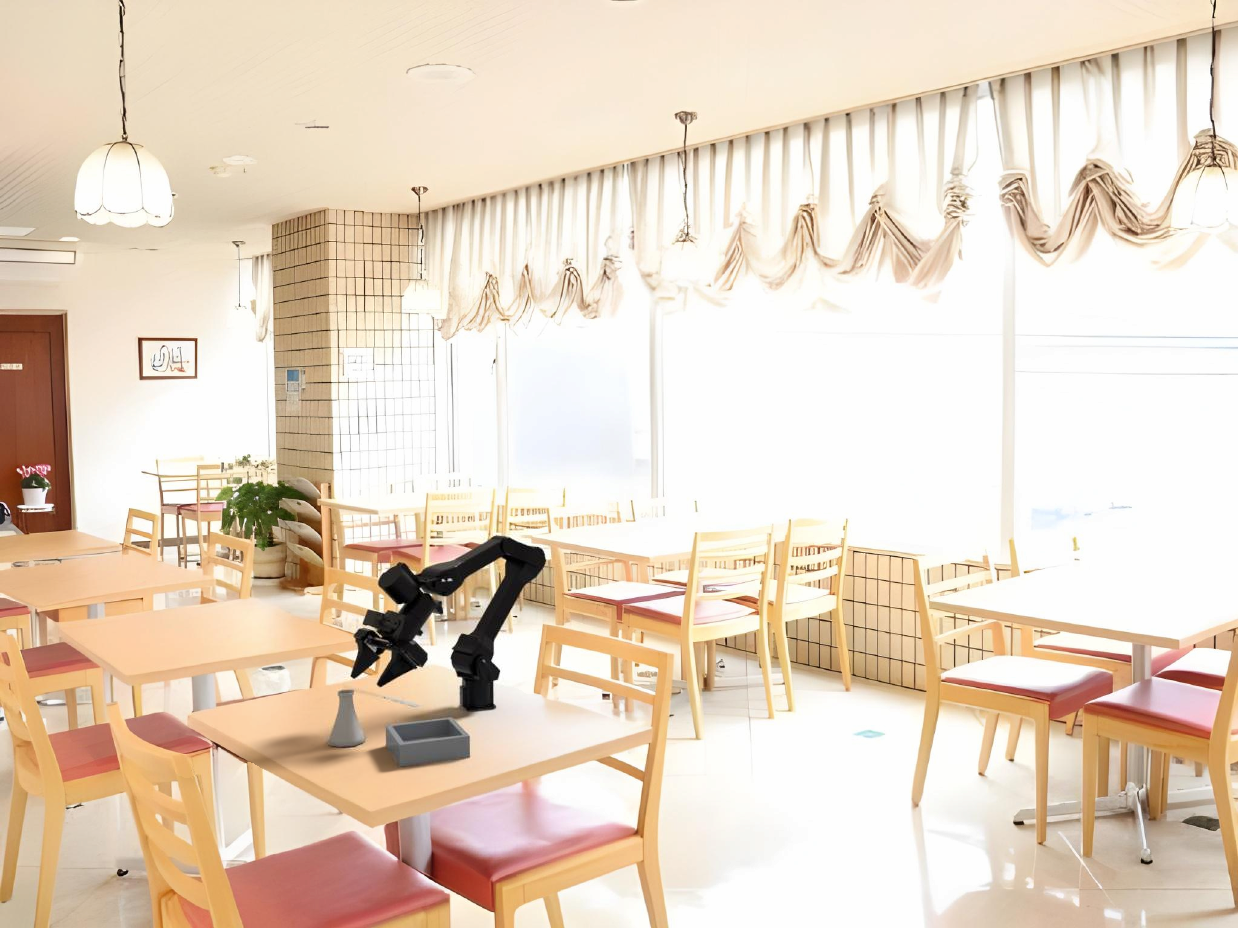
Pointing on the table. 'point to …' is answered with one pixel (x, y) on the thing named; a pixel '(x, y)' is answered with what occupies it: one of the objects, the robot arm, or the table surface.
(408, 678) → the table surface
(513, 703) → the table surface
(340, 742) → the flask
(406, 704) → the butter knife
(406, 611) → the robot arm
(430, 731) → the tray
